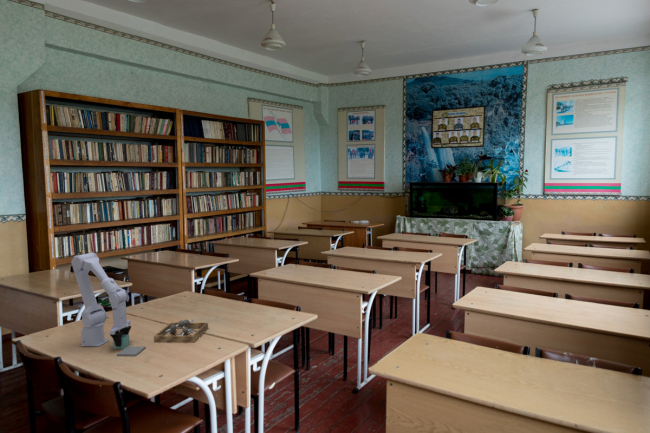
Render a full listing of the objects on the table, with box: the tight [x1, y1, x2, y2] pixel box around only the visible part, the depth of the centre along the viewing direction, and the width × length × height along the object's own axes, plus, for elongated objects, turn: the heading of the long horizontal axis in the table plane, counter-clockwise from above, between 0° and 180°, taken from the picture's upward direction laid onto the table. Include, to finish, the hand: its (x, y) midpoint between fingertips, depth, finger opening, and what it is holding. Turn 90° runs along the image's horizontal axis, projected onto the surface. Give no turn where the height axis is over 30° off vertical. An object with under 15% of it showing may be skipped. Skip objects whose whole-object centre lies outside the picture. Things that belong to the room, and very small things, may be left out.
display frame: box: [153, 321, 209, 343], centre depth 220 cm, size 20×20×3 cm
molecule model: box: [166, 318, 194, 336], centre depth 222 cm, size 15×9×11 cm
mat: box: [116, 346, 147, 357], centre depth 199 cm, size 9×9×1 cm
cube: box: [112, 334, 131, 350], centre depth 206 cm, size 5×5×5 cm
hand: (121, 343), depth 206 cm, fingers closed on cube, 5 cm apart
